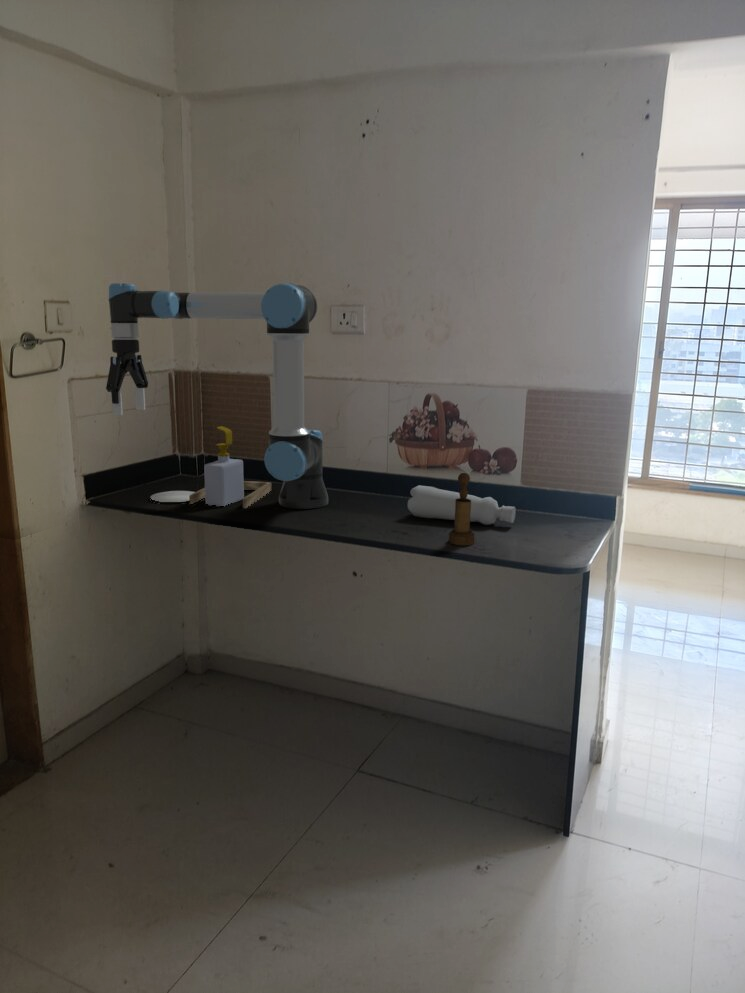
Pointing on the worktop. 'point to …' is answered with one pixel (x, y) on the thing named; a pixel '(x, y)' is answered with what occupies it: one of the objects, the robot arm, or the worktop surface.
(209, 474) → the soap bottle
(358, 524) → the worktop surface
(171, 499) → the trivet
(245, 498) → the frame
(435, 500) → the bottle
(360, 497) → the worktop surface
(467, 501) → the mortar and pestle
